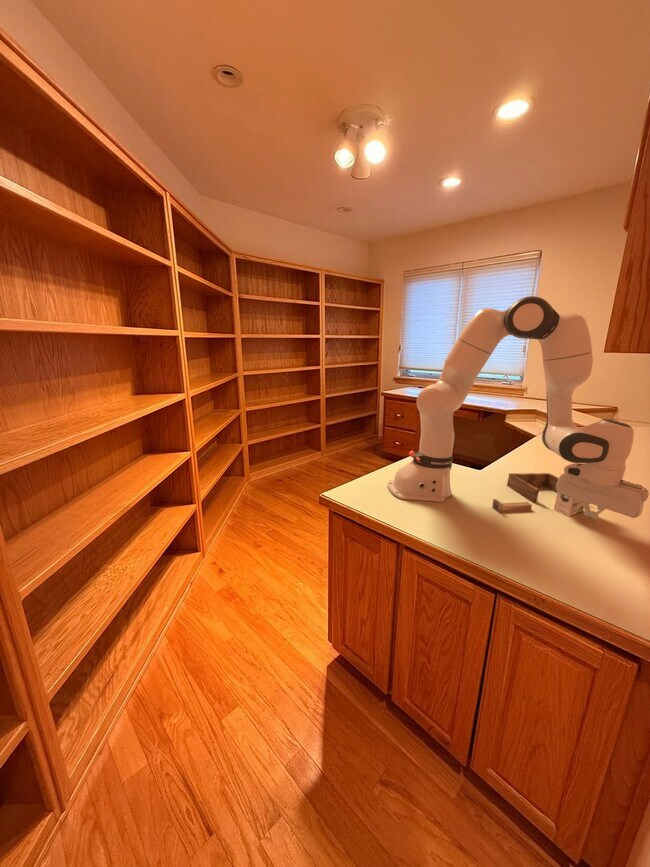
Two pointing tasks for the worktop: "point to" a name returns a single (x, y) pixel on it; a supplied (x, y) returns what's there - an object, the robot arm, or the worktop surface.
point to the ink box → (568, 505)
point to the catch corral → (531, 483)
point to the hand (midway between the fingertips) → (590, 517)
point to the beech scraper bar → (510, 506)
